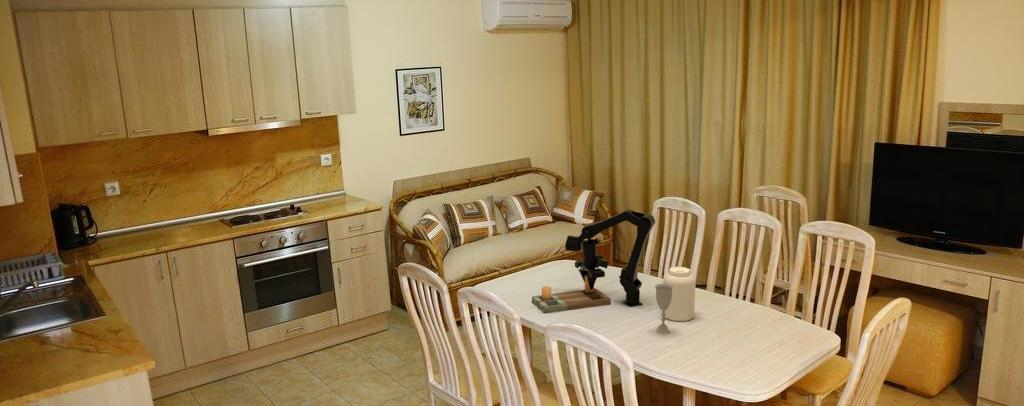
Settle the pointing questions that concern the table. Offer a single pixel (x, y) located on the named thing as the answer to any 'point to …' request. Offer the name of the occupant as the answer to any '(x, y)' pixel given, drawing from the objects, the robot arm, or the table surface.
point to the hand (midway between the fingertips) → (589, 287)
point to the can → (680, 294)
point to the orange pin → (587, 285)
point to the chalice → (663, 303)
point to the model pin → (546, 293)
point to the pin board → (571, 301)
